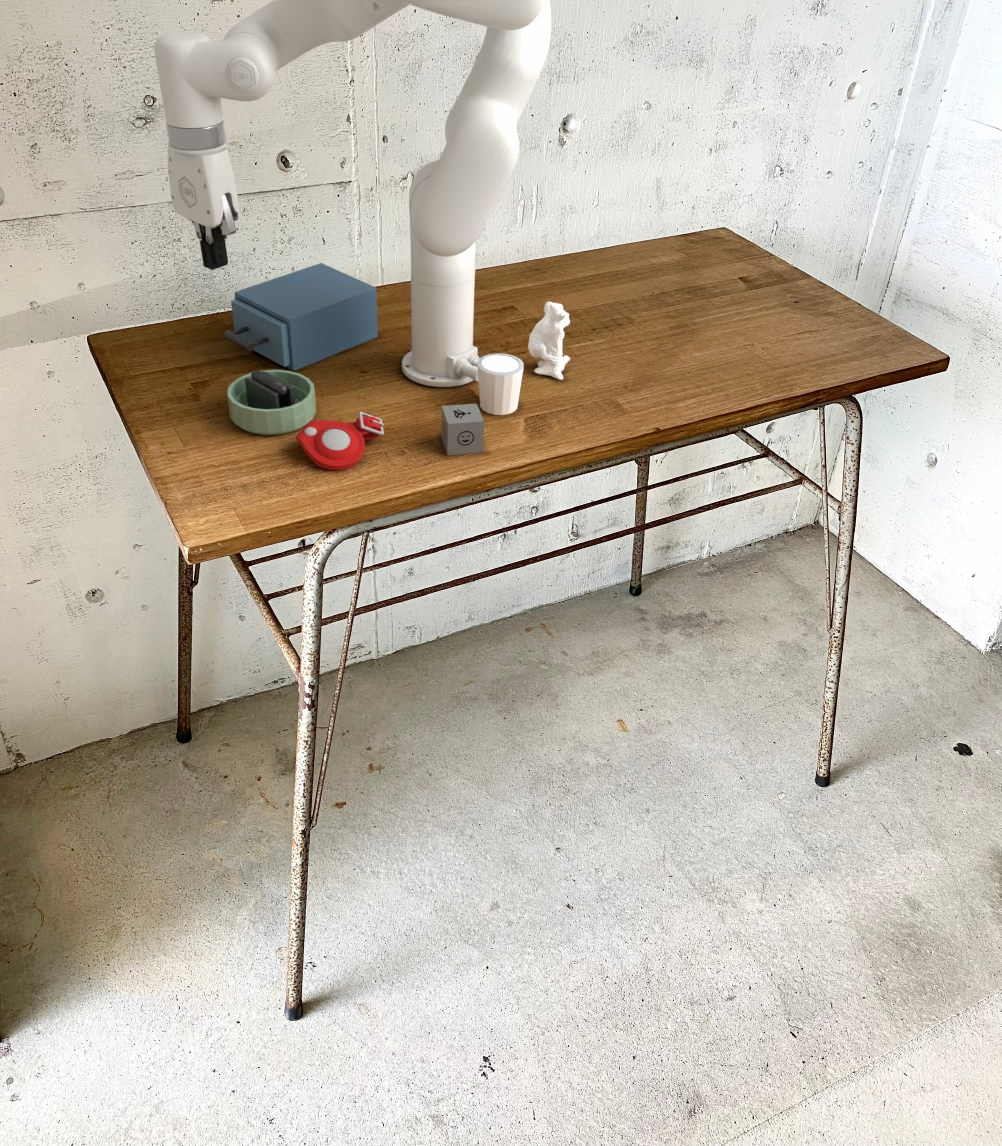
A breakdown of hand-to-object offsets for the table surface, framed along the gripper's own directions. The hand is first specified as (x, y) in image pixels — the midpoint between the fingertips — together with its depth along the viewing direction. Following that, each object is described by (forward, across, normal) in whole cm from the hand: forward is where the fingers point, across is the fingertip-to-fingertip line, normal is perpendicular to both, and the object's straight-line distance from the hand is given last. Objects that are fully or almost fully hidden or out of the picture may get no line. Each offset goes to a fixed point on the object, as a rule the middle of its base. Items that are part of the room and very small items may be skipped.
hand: (216, 265), depth 159 cm
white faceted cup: (+18, +36, +22) cm, 46 cm away
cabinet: (+17, 0, +16) cm, 23 cm away
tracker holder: (+18, +30, -3) cm, 35 cm away
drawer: (+16, 0, +12) cm, 20 cm away
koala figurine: (+18, +34, +36) cm, 53 cm away
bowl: (+17, +15, -4) cm, 23 cm away
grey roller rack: (+16, +15, -4) cm, 23 cm away
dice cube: (+18, +40, +10) cm, 45 cm away
